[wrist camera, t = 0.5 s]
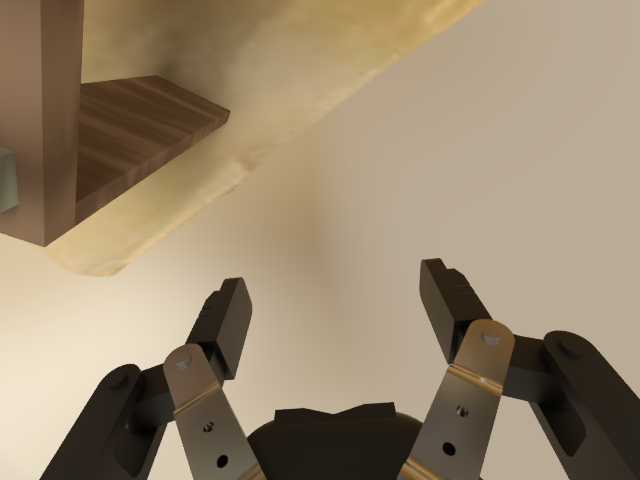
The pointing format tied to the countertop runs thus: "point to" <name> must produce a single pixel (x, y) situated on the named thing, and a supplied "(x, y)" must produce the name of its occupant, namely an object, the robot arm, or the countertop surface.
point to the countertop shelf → (78, 124)
